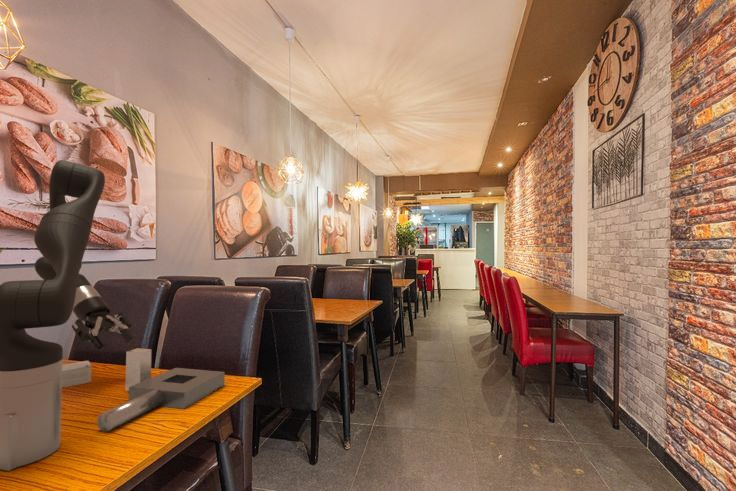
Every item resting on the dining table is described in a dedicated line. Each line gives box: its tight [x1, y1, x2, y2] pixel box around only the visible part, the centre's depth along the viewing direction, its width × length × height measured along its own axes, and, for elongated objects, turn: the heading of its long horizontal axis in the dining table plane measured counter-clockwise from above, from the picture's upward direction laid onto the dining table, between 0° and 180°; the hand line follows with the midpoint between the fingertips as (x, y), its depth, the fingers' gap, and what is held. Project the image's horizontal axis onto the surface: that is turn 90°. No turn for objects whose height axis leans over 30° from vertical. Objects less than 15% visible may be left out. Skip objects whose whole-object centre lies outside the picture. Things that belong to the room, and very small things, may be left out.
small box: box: [62, 360, 92, 389], centre depth 102 cm, size 8×8×5 cm
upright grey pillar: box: [125, 347, 152, 392], centre depth 97 cm, size 4×5×11 cm
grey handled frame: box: [97, 367, 226, 433], centre depth 87 cm, size 29×17×4 cm, turn 167°
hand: (117, 344), depth 99 cm, fingers open, 8 cm apart
